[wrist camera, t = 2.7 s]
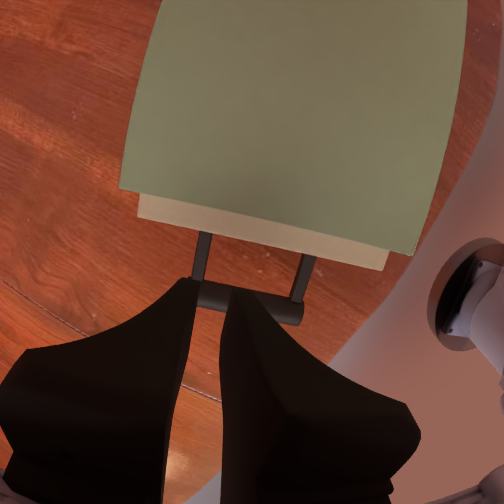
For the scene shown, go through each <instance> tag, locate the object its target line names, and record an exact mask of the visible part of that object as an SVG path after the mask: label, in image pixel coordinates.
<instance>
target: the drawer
mask: <svg viewBox="0 0 504 504" xmlns="http://www.w3.org/2000/svg"><path fill="white" fill-rule="evenodd" d="M137 216H138V217H140V218H145V219H149V220H154V221H159V222H163V223H168V224H172V225H177V226H182V227H186V228H191V229H196V230H200V231H199V237H198V242H197V247H196V253H195V258H194V264H193V270H192V275H191V277H190V276H189V277H188V279H194V280H199V281H201V284H200V290H199V296H198V301H197V307H202V308H206V309H211V310H216V311H220V312H225V313H226V312H227V308H228V304H229V299H230V295H231V291H232V287H236V286H231V285H227V284H222V283H217V282H213V281H208V280H203V279H204V275H205V270H206V265H207V260H208V255H209V250H210V245H211V240H212V235H213V233H214V234H218V235H223V236H228V237H232V238H237V239H241V240H246V241H250V242H255V243H259V244H264V245H268V246H273V247H277V248H282V249H286V250H291V251H295V252H299V253H302V256H301V259H300V263H299V266H298V269H297V272H296V276H295V279H294V282H293V285H292V288H291V291H290V295H289V297H285V296H280V295H275V294H270V293H265V292H260V291H255V290H251V291H252V292H253V293H254V294H255V296H256V297H257V298H258V299H259V301H260V302H261V303H262V305H263V306H264V307H265V308H266V310H267V311H268V312H269V313H270V314H271V316H272V317H273V318H274V319H275V320H276V321H277V323H281V324H287V325H293V326H299V325H300V323H301V321H302V318H303V314H304V301H303V300H302V299H303V296H304V294H305V291H306V288H307V285H308V282H309V279H310V275H311V272H312V269H313V266H314V263H315V260H316V257H322V258H326V259H330V260H335V261H339V262H344V263H348V264H352V265H357V266H361V267H365V268H370V269H374V270H378V271H382V270H383V268H384V266H385V263H386V260H387V258H388V255H389V252H390V250H386V249H382V248H378V247H374V246H370V245H367V244H363V243H359V242H355V241H351V240H347V239H343V238H339V237H335V236H331V235H327V234H323V233H319V232H315V231H310V230H306V229H302V228H298V227H294V226H289V225H285V224H281V223H277V222H272V221H268V220H264V219H259V218H255V217H251V216H246V215H242V214H237V213H233V212H228V211H224V210H219V209H214V208H210V207H205V206H200V205H196V204H191V203H186V202H181V201H177V200H172V199H167V198H162V197H157V196H152V195H147V194H142V193H140V198H139V205H138V212H137ZM237 288H241V287H237ZM242 289H245V288H242ZM248 290H250V289H248Z"/></svg>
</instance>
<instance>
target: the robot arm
mask: <svg viewBox="0 0 504 504" xmlns="http://www.w3.org/2000/svg"><path fill="white" fill-rule="evenodd" d="M480 263H481V264H480ZM479 264H480V266H479ZM200 284H201V281H199V280H194V279H188V278H183V277H182V278H181V279H179V280H178V281H177V282H176V283H175V284H174V285H173V286H172V287H171V288H170V289H169V290H168V291H167V292H166V293H165V294H164V295H163V296H161V297H160V298H159V299H158V300H157V301H156V302H154V303H153V304H152V305H150V306H149V307H148V308H146V309H145V310H143V311H142V312H141V313H139V314H138V315H136V316H134V317H133V318H131V319H130V320H128V321H126V322H124V323H122V324H120V325H118V326H116V327H113V328H111V329H108V330H106V331H104V332H101V333H99V334H96V335H93V336H90V337H87V338H84V339H80V340H77V341H73V342H69V343H64V344H60V345H53V346H47V347H40V348H33V349H26V350H25V352H24V353H23V354H22V355H21V356H20V357H19V359H18V360H17V361H16V362H15V363H14V365H13V366H12V368H11V369H10V371H9V372H8V374H7V375H6V377H5V378H4V380H3V381H2V383H1V384H0V426H1V428H2V430H3V432H4V434H5V436H6V438H7V440H8V442H9V444H10V445H11V447H12V449H13V451H14V452H13V454H12V456H11V458H10V461H9V463H8V465H7V468H6V470H3V469H1V468H0V504H162V503H163V493H164V483H165V474H166V465H167V456H168V448H169V440H170V432H171V425H172V418H173V413H174V408H175V404H176V400H177V396H178V392H179V389H180V385H181V381H182V377H183V373H184V370H185V366H186V362H187V358H188V354H189V347H190V341H191V336H192V330H193V324H194V318H195V312H196V307H197V301H198V296H199V290H200ZM442 332H443V334H446V335H454V336H462V337H468V338H469V339H470V340H471V341H472V342H473V343H474V345H475V346H476V347H477V348H478V349H479V350H480V351H481V353H482V354H483V355H484V356H485V357H486V358H487V360H488V361H489V362H490V363H491V364H492V366H493V367H494V368H495V369H496V370H497V372H498V373H499V374H500V375H501V377H502V379H501V381H500V382H499V385H500V386H501V388H502V389H503V390H504V267H503V266H500V265H497V264H494V263H492V262H489V261H486V260H483V259H480V258H474V259H473V261H472V263H471V266H470V268H469V271H468V273H467V276H466V278H465V280H464V283H463V285H462V287H461V290H460V292H459V294H458V296H457V298H456V301H455V303H454V305H453V307H452V309H451V311H450V313H449V315H448V317H447V319H446V321H445V323H444V325H443V327H442ZM219 371H220V385H221V398H222V411H223V450H222V476H221V497H220V504H391V501H390V499H389V496H388V495H389V494H391V493H392V492H393V490H394V488H393V485H392V483H391V480H390V478H391V477H392V476H393V475H394V474H395V473H396V472H397V471H398V470H399V469H400V468H401V467H402V466H403V465H404V464H405V463H406V462H407V460H409V458H410V457H411V456H412V455H413V453H414V452H415V451H416V449H417V447H418V445H419V442H420V440H421V431H420V429H419V427H418V425H417V423H416V421H415V420H414V418H413V416H412V414H411V412H410V410H409V409H408V407H407V405H406V404H405V403H403V402H400V401H397V400H394V399H392V398H389V397H387V396H384V395H381V394H379V393H376V392H374V391H372V390H369V389H367V388H365V387H363V386H361V385H359V384H357V383H355V382H353V381H351V380H350V379H348V378H346V377H344V376H342V375H341V374H339V373H338V372H336V371H334V370H333V369H331V368H330V367H328V366H327V365H325V364H324V363H322V362H321V361H319V360H318V359H317V358H315V357H314V356H313V355H312V354H310V353H309V352H308V351H307V350H305V349H304V348H303V347H302V346H301V345H299V344H298V343H297V342H296V341H295V340H294V339H293V338H292V337H291V336H290V335H289V334H288V333H287V332H286V331H285V330H284V329H283V328H282V327H281V326H280V325H279V324H278V323H277V321H276V320H275V319H274V318H273V317H272V316H271V314H270V313H269V312H268V311H267V310H266V308H265V307H264V306H263V305H262V303H261V302H260V301H259V299H258V298H257V297H256V296H255V294H254V293H253V292H252V291H251V290H248V289H242V288H237V287H232V291H231V295H230V299H229V304H228V308H227V312H226V317H225V321H224V325H223V329H222V334H221V340H220V353H219ZM500 401H501V402H500V403H501V410H502V414H503V416H504V394H503V395H502V396H501V400H500ZM426 504H504V465H502V466H499V467H497V468H496V469H494V470H493V471H491V472H490V473H489V474H488V475H487V476H486V477H485V478H483V480H481V481H480V482H479V484H478V485H476V486H473V487H471V488H468V489H466V490H463V491H461V492H458V493H455V494H453V495H450V496H447V497H444V498H441V499H438V500H435V501H432V502H429V503H426Z"/></svg>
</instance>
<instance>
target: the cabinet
mask: <svg viewBox="0 0 504 504" xmlns="http://www.w3.org/2000/svg"><path fill="white" fill-rule="evenodd" d="M466 19H467V0H162V3H161V6H160V9H159V12H158V15H157V18H156V21H155V24H154V27H153V30H152V34H151V37H150V40H149V44H148V47H147V51H146V54H145V58H144V62H143V65H142V69H141V73H140V77H139V81H138V85H137V89H136V94H135V98H134V103H133V107H132V112H131V117H130V121H129V127H128V132H127V137H126V143H125V148H124V154H123V160H122V167H121V173H120V180H119V189H122V190H127V191H132V192H137V193H142V194H147V195H152V196H157V197H162V198H167V199H172V200H177V201H181V202H186V203H191V204H196V205H200V206H205V207H210V208H214V209H219V210H224V211H228V212H233V213H237V214H242V215H246V216H251V217H255V218H259V219H264V220H268V221H272V222H277V223H281V224H285V225H289V226H294V227H298V228H302V229H306V230H310V231H315V232H319V233H323V234H327V235H331V236H335V237H339V238H343V239H347V240H351V241H355V242H359V243H363V244H367V245H370V246H374V247H378V248H382V249H386V250H390V251H393V252H397V253H401V254H405V255H408V256H413V254H414V251H415V249H416V246H417V243H418V240H419V238H420V235H421V232H422V229H423V226H424V223H425V220H426V217H427V214H428V211H429V208H430V205H431V201H432V198H433V195H434V191H435V188H436V185H437V181H438V178H439V174H440V170H441V167H442V163H443V159H444V155H445V151H446V147H447V143H448V138H449V134H450V130H451V125H452V120H453V115H454V110H455V105H456V100H457V94H458V88H459V82H460V75H461V68H462V61H463V52H464V43H465V32H466Z"/></svg>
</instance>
